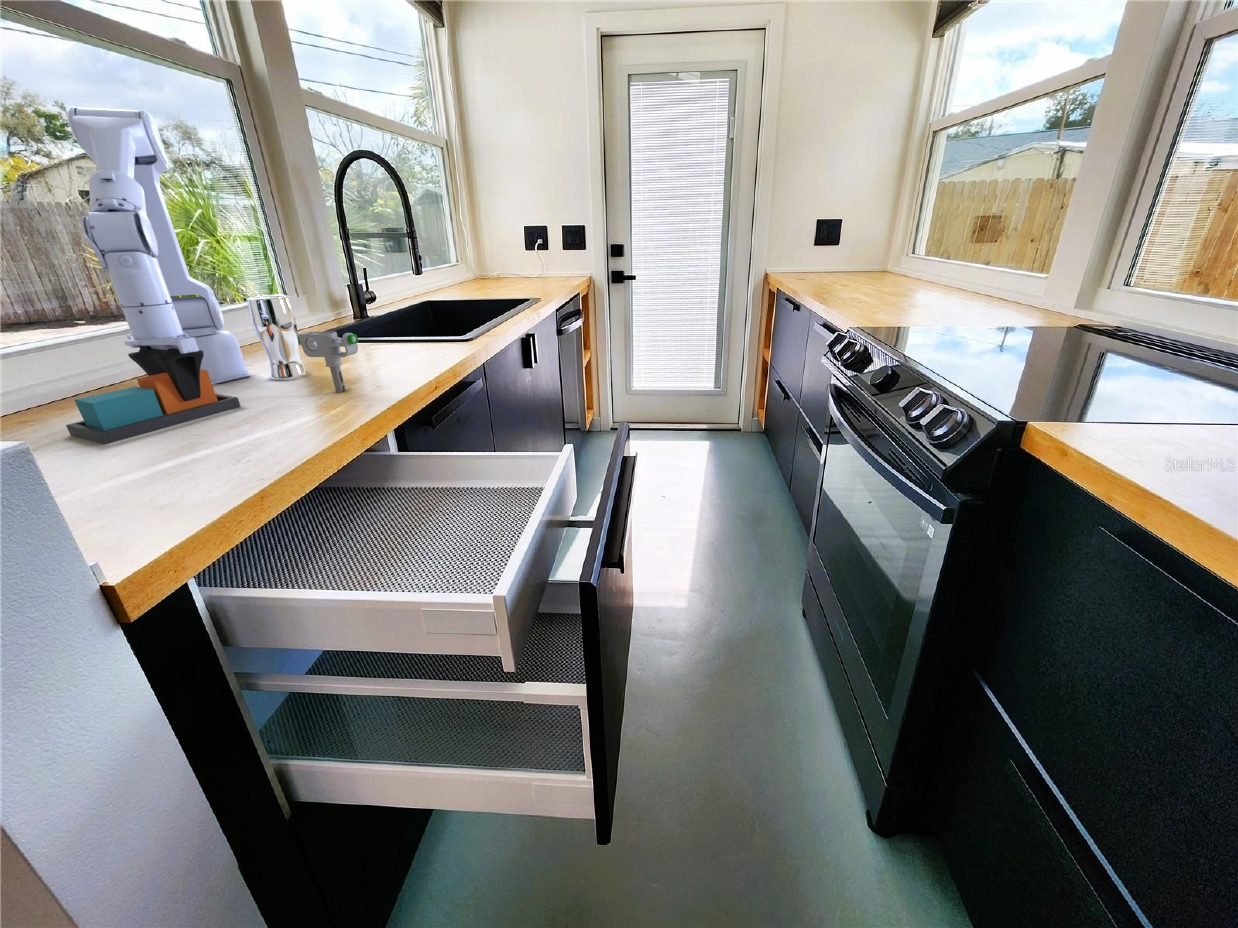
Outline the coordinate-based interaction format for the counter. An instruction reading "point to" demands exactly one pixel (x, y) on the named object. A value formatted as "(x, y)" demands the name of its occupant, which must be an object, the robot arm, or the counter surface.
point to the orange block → (170, 396)
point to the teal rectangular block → (118, 408)
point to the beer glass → (277, 335)
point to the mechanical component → (330, 351)
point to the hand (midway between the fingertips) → (182, 397)
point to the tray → (152, 422)
